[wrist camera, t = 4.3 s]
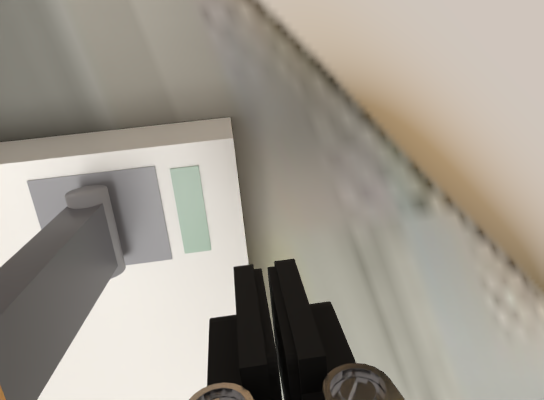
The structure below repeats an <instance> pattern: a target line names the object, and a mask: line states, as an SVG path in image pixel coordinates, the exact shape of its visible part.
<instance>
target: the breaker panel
mask: <svg viewBox="0 0 544 400" xmlns="http://www.w3.org/2000/svg"><path fill="white" fill-rule="evenodd" d="M89 185H105V186H107V189H108V193H109V197H110V201H111V206H112V210H113V214H114V218H115V223H116V227H117V231H118V235H119V240H120V244H121V248H122V253H123V257H124V261H125V265H126V269H125V270H124V272H123V273H121V274H120V275H118V276H116V277H114V278H112V279H110V280H109V282H108V283H107V285H106V287H105V288H104V290H103V292H102V293H101V295H100V297H99V298H98V300H97V302H96V303H95V305H94V307H93V308H92V310H91V312H90V313H89V315H88V316H87V318H86V320H85V321H84V323H83V325H82V326H81V328H80V330H79V331H78V333H77V335H76V336H75V338H74V340H73V341H72V343H71V345H70V346H69V348H68V350H67V351H66V353H65V355H64V356H63V358H62V359H61V361H60V363H59V364H58V366H57V368H56V369H55V371H54V373H53V374H52V376H51V378H50V379H49V381H48V383H47V384H46V386H45V388H44V389H43V391H42V393H41V394H40V396H39V398H38V399H37V400H189V399H190V398H191V397H192V396H193V395H194V394H195V393H196V392H198V391H199V390H201V389H202V388H204V387H207V371H208V342H209V320H210V318H215V317H222V316H229V315H236V303H235V286H234V269H233V267H235V266H243V265H249V263H248V255H247V247H246V238H245V230H244V222H243V214H242V206H241V198H240V190H239V182H238V173H237V165H236V157H235V149H234V141H233V133H232V125H231V117H227V118H218V119H208V120H199V121H190V122H181V123H172V124H163V125H154V126H145V127H135V128H126V129H117V130H108V131H99V132H90V133H81V134H71V135H62V136H53V137H44V138H35V139H26V140H17V141H8V142H0V267H1V266H2V265H3V264H4V263H6V262H7V261H8V260H9V259H10V258H11V257H12V256H13V255H14V254H15V253H17V252H18V251H19V250H20V249H21V248H22V247H23V246H24V245H25V244H26V243H27V242H29V241H30V240H31V239H32V238H33V237H34V236H35V235H36V234H37V233H38V232H39V231H41V230H42V229H43V228H44V227H45V226H46V225H47V224H48V223H49V222H50V221H52V220H53V219H54V218H55V217H56V216H57V215H58V214H59V213H60V212H61V211H62V210H64V209H65V208H66V207H67V204H66V200H65V196H64V195H65V194H66V193H67V192H69V191H71V190H73V189H76V188H80V187H84V186H89Z"/></svg>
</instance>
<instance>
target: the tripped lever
mask: <svg viewBox="0 0 544 400" xmlns="http://www.w3.org/2000/svg"><path fill="white" fill-rule="evenodd" d="M64 196H65V200H66V204H67V207H66V208H65V209H64V210H62V211H61V212H60V213H59V214H58V215H57V216H56V217H55V218H54V219H53V220H52V221H50V222H49V223H48V224H47V225H46V226H45V227H44V228H43V229H42V230H41V231H39V232H38V233H37V234H36V235H35V236H34V237H33V238H32V239H31V240H30V241H29V242H27V243H26V244H25V245H24V246H23V247H22V248H21V249H20V250H19V251H18V252H17V253H15V254H14V255H13V256H12V257H11V258H10V259H9V260H8V261H7V262H6V263H4V264H3V265H2V266H1V267H0V400H37V399H38V398H39V396H40V394H41V393H42V391H43V389H44V388H45V386H46V384H47V383H48V381H49V379H50V378H51V376H52V374H53V373H54V371H55V369H56V368H57V366H58V364H59V363H60V361H61V359H62V358H63V356H64V355H65V353H66V351H67V350H68V348H69V346H70V345H71V343H72V341H73V340H74V338H75V336H76V335H77V333H78V331H79V330H80V328H81V326H82V325H83V323H84V321H85V320H86V318H87V316H88V315H89V313H90V312H91V310H92V308H93V307H94V305H95V303H96V302H97V300H98V298H99V297H100V295H101V293H102V292H103V290H104V288H105V287H106V285H107V283H108V282H109V280H110V279H112V278H114V277H116V276H118V275H120V274H121V273H123V272H124V270H125V269H126V265H125V261H124V257H123V253H122V248H121V244H120V240H119V235H118V231H117V227H116V223H115V218H114V214H113V210H112V206H111V201H110V197H109V193H108V189H107V186H105V185H89V186H84V187H80V188H76V189H73V190H71V191H69V192H67V193H66V194H65V195H64Z"/></svg>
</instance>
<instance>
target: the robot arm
mask: <svg viewBox="0 0 544 400" xmlns="http://www.w3.org/2000/svg"><path fill="white" fill-rule="evenodd" d="M274 264H275V267H268V278H269V288H270V298H271V307H272V317H273V326H274V336H275V342H274V337H273V331H272V325H271V320H270V314H269V308H268V303H267V297H266V291H265V286H264V280H263V275H262V269H261V268H260V269H254V268H253V264H250V265H243V266H235V267H233V269H234V286H235V303H236V315H229V316H222V317H215V318H210V320H209V342H208V371H207V387H204V388H202V389H201V390H199V391H198V392H196V393H195V394H194V395H193V396H192V397H191V398H190V399H189V400H282V395H281V385H280V377H281V383H282V389H283V394H284V400H405V399H404V398H403V396H402V395H401V393H400V392H399V391H398V389H397V388H396V386H395V385H394V384H393V382H392V381H391V379H390V378H389V377H388V376H387V375H386V374H385V373H384V372H382V371H381V370H379V369H377V368H376V367H373V366H370V365H367V364H361V363H356V362H355V359H354V357H353V355H352V352H351V350H350V347H349V345H348V342H347V340H346V338H345V335H344V333H343V330H342V328H341V325H340V323H339V321H338V318H337V316H336V313H335V311H334V309H333V306H332V304H331V302H322V303H315V304H309V302H308V299H307V296H306V293H305V290H304V287H303V284H302V281H301V278H300V275H299V272H298V269H297V266H296V263H295V260H294V259H288V260H281V261H275V262H274ZM275 345H276V348H275ZM278 366H279V367H278ZM279 372H280V376H279Z"/></svg>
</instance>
